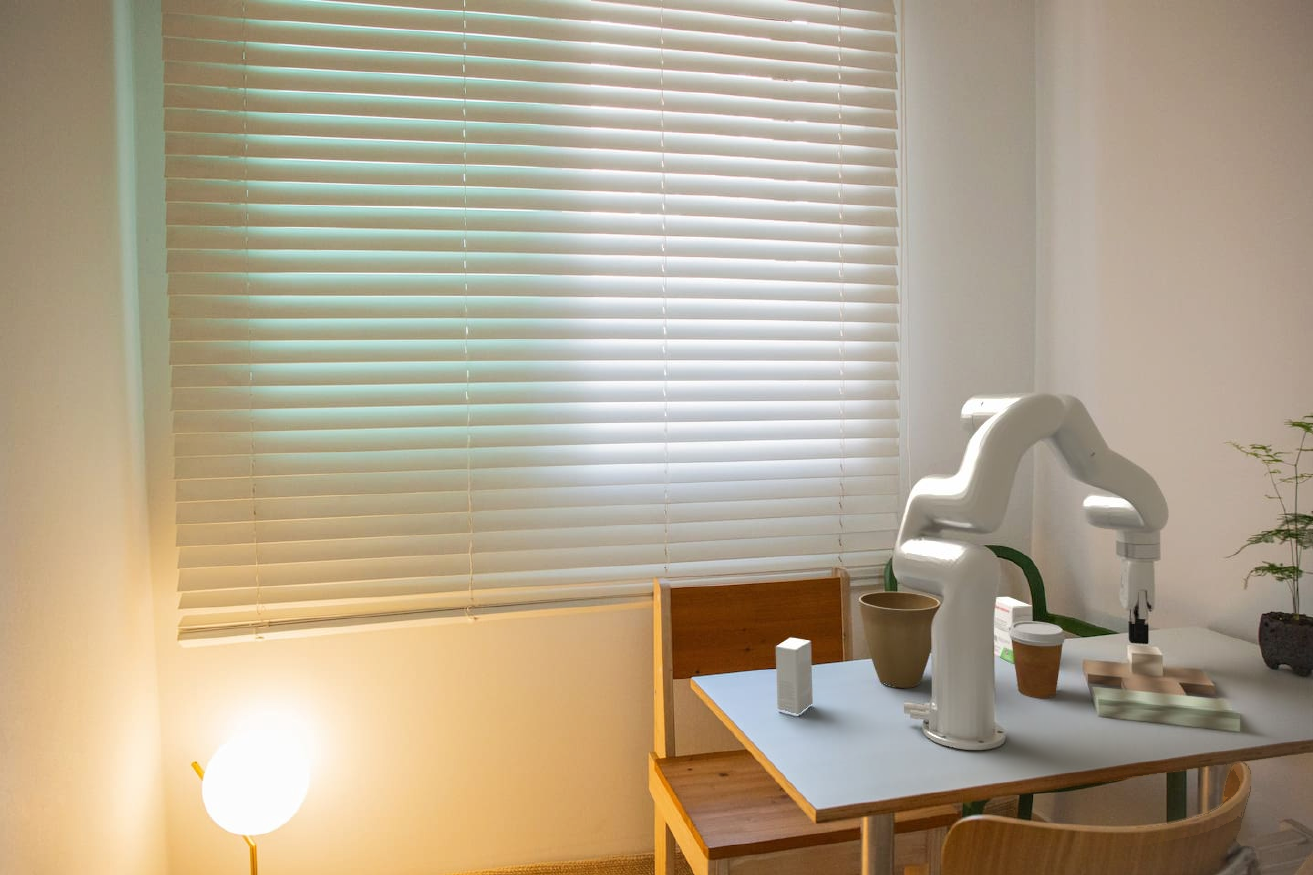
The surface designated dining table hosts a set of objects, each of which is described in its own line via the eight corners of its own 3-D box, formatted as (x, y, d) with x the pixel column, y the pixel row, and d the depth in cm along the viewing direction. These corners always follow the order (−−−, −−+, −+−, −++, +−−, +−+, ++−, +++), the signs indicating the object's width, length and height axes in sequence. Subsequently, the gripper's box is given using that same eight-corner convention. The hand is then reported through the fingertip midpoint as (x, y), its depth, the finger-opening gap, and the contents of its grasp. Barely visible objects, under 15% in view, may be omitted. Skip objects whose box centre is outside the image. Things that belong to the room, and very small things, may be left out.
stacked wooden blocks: (1098, 716, 137) (1098, 698, 137) (1082, 669, 160) (1082, 654, 160) (1240, 731, 130) (1240, 713, 130) (1202, 679, 153) (1202, 664, 153)
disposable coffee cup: (997, 686, 152) (996, 623, 152) (1038, 680, 155) (1037, 618, 154) (1035, 704, 143) (1035, 637, 142) (1078, 697, 146) (1078, 631, 145)
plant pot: (942, 698, 147) (941, 611, 146) (857, 691, 152) (856, 607, 151) (940, 671, 161) (939, 592, 160) (862, 666, 166) (861, 588, 165)
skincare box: (791, 701, 148) (790, 636, 147) (813, 706, 145) (812, 640, 145) (776, 712, 143) (774, 645, 142) (798, 717, 140) (797, 649, 140)
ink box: (1034, 662, 165) (1034, 605, 165) (1012, 664, 164) (1012, 606, 164) (1008, 649, 174) (1008, 595, 173) (987, 651, 173) (987, 596, 172)
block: (1131, 673, 151) (1131, 652, 151) (1127, 665, 156) (1127, 644, 156) (1162, 676, 150) (1162, 655, 149) (1157, 667, 154) (1157, 647, 154)
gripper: (1110, 542, 168) (1111, 630, 169) (1121, 557, 154) (1122, 652, 155) (1153, 544, 165) (1153, 632, 166) (1167, 559, 151) (1168, 656, 152)
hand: (1138, 642), depth 160 cm, fingers closed
